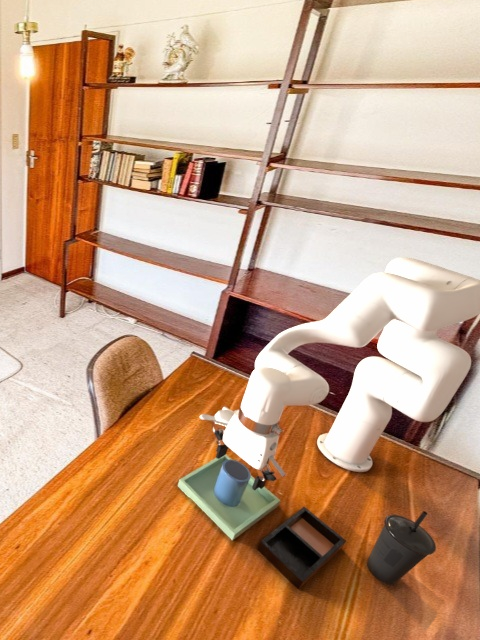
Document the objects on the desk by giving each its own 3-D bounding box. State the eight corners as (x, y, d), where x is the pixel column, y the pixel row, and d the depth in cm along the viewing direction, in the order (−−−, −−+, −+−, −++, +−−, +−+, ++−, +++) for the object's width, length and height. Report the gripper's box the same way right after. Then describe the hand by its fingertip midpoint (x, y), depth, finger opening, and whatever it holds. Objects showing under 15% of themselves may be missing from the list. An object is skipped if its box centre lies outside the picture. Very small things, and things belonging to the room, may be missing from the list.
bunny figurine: (261, 423, 116) (222, 430, 111) (255, 436, 118) (216, 443, 113) (237, 401, 124) (199, 406, 119) (231, 414, 126) (194, 419, 121)
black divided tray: (299, 515, 95) (304, 506, 94) (340, 549, 88) (346, 540, 87) (255, 550, 87) (260, 541, 86) (297, 591, 80) (303, 582, 79)
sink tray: (221, 459, 109) (224, 452, 108) (277, 507, 97) (280, 500, 95) (177, 486, 101) (179, 479, 100) (231, 541, 89) (234, 534, 88)
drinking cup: (412, 597, 80) (464, 537, 71) (370, 588, 81) (416, 527, 72) (389, 558, 87) (433, 498, 78) (350, 550, 88) (390, 490, 79)
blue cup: (223, 480, 102) (233, 455, 98) (245, 499, 97) (256, 474, 94) (208, 490, 99) (216, 465, 96) (229, 511, 95) (240, 485, 91)
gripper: (307, 439, 82) (283, 493, 90) (233, 389, 96) (217, 439, 103) (286, 453, 79) (262, 508, 87) (212, 399, 93) (197, 450, 100)
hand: (238, 470), depth 95 cm, fingers open, 9 cm apart
